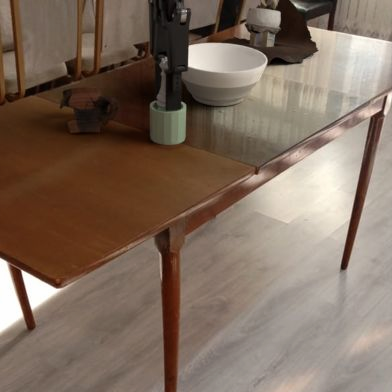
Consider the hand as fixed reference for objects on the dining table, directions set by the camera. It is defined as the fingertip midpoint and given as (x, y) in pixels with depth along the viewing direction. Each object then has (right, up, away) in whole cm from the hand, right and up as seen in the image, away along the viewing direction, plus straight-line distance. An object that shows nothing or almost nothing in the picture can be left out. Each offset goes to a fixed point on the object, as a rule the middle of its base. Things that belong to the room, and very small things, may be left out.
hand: (168, 104), depth 114 cm
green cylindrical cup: (0, -5, +4) cm, 6 cm away
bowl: (+10, +9, +21) cm, 25 cm away
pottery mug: (-15, -2, +7) cm, 17 cm away
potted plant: (+24, +31, +46) cm, 61 cm away
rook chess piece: (0, 0, 0) cm, 0 cm away
